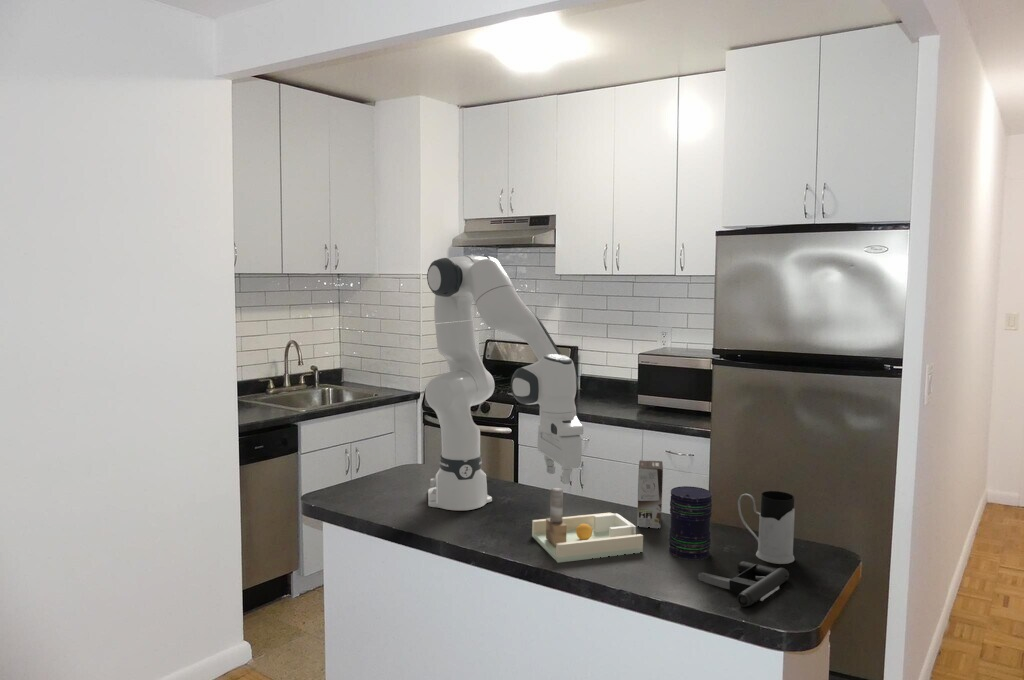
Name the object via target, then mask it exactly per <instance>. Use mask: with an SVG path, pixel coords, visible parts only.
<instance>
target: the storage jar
mask: <svg viewBox="0 0 1024 680" xmlns="http://www.w3.org/2000/svg"><path fill="white" fill-rule="evenodd" d="M712 497H713V493H712V491H711V490H708V489H707V488H706V489H705V488H702V487H698V486H691V485H690V486H688V485H687V486H686V485H684V486H683V485H682V486H676V487H673V488H672V489H671V490H670V500H669V507H670V508H669V513H670V528H669V535H668V541H669V547H668V552H669V554H671V555H672V554H673V555H672V556H674V557H676V558H678V557H679V558H678V559H682V558H683V559H682V560H688V559H689V561H700V560H699V559H701V560H705V559H708V558H709V557H710V556H711V555H710V552H711V551H710V549H711V540H712V539H711V531H710V529H711V528H710V527H711V526H710V525H711V517H712V509H713V505H712V504H713V503H712V499H713V498H712ZM708 556H709V557H708ZM704 558H705V559H704Z"/></svg>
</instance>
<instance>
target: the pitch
mask: <svg viewBox="0 0 1024 680" xmlns="http://www.w3.org/2000/svg"><path fill="white" fill-rule="evenodd" d="M562 522H563V523H565V524H566V525H567V529H566V542H564V543H556V547H555V546H554V545H552V544H551V543H550V542H549V541H548V540H547V539H546V518H541V519H532V520H531V524H532V527H531V537H532V538H533V539H534V540H535V541H536V543H538V544H539V545H540V546H541V547H542V548H543V549H544V550H545V551H546V552H547V553H548V554H549V556H550V557H552V558H553V559H554V560H555V561H556V562H557V563H558V564H559V563H566V562H574V561H583V560H590V559H592V558H593V559H600V557H601V558H608V556H610V557H616V556H617V555H618V556H625V555H624V554H626V555H633V553H635V554H641V553H640V552H643V550H644V535H643V534H641V533H639V534H638V533H637V525H634V524H633V523H632V522H631V521H629V520H627V519H626V518H625V517H623V516H622V515H621V514H619V513H612V512H603V513H601V512H600V513H593V514H581V515H573V516H572V515H571V516H562ZM580 524H588V525H589V526H590V527H591V528H592V536H591V537H590V538H589V539H588V540H581V539H579V538H578V536H577V534H576V529H577V527H578V526H579V525H580Z"/></svg>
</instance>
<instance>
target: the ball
mask: <svg viewBox="0 0 1024 680" xmlns="http://www.w3.org/2000/svg"><path fill="white" fill-rule="evenodd" d="M576 534H577V536H578V538H579V539H581V540H588V539H589V538H590V537H591V536H592V528H591V527H590V526H589V525H588V524H580V525H579V526H578V527H577V529H576Z"/></svg>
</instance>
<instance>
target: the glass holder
mask: <svg viewBox="0 0 1024 680" xmlns="http://www.w3.org/2000/svg"><path fill="white" fill-rule="evenodd" d="M760 495H761V496H760V512H759V511H757V504H756V503H757V502H756V499H755V498H754V497H753V495H752V494H749V493H743V494H741V495H740V496H739V497H738V500H737V510H738V515H739V518H740V519H741V522H742V524H743V525H744V526H745V528H746V529H747V531H748V532H749V533H750V534H751V535H752V536H753V537H754V539H755V540H756V541H757V545H758V546H757V551H756V553H755V556H756V557H757V558H758V559H759V560H762V561H763V562H767V563H771V564H776V565H777V564H778V565H782V564H783V565H785V564H786V565H787V564H790V563H793V562H794V561H795V560H796V559H795V556H794V536H795V534H794V533H795V512H796V509H795V496H794V495H793V494H792V493H787V492H785V491H779V490H778V491H776V490H768V491H762V492H761V494H760ZM743 496H748V498H750V499H751V501H752V503H753V511H754V513H755V514H757V515H759V516H758V517H759V518H758V519H759V521H758V523H759V524H758V536H757V535H756V533H755V532H754V531H753V530H752V529H751V528H750V527H749V525H748V524H747V522H746V521H745V519H744V517H743V514H742V510H741V498H742V497H743Z"/></svg>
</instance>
